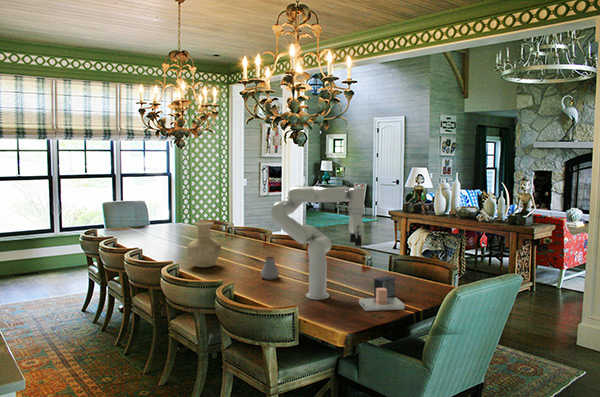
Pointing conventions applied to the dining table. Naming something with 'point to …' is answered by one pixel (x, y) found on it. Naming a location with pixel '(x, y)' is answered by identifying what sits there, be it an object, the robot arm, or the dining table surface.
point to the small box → (385, 285)
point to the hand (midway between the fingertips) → (355, 244)
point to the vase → (204, 247)
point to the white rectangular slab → (372, 305)
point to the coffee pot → (268, 268)
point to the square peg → (381, 295)
